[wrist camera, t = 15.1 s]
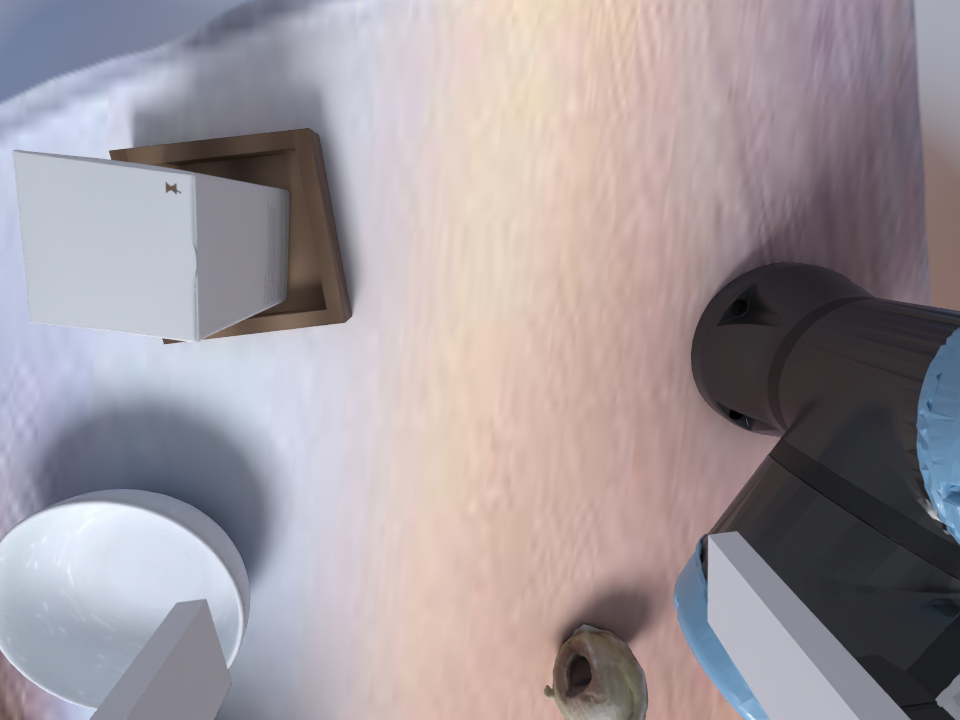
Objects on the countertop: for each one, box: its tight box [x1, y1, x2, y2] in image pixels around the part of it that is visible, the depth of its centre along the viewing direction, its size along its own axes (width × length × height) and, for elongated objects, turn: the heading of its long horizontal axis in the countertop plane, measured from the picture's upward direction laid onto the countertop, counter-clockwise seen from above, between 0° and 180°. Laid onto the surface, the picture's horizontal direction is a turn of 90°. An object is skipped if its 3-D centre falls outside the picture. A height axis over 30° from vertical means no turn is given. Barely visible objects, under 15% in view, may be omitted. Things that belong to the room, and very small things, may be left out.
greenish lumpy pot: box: [544, 624, 648, 720], centre depth 49 cm, size 9×8×10 cm
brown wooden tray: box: [109, 128, 352, 344], centre depth 39 cm, size 14×14×3 cm
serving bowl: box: [0, 489, 250, 710], centre depth 45 cm, size 21×21×7 cm
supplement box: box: [13, 150, 290, 342], centre depth 33 cm, size 9×9×15 cm
